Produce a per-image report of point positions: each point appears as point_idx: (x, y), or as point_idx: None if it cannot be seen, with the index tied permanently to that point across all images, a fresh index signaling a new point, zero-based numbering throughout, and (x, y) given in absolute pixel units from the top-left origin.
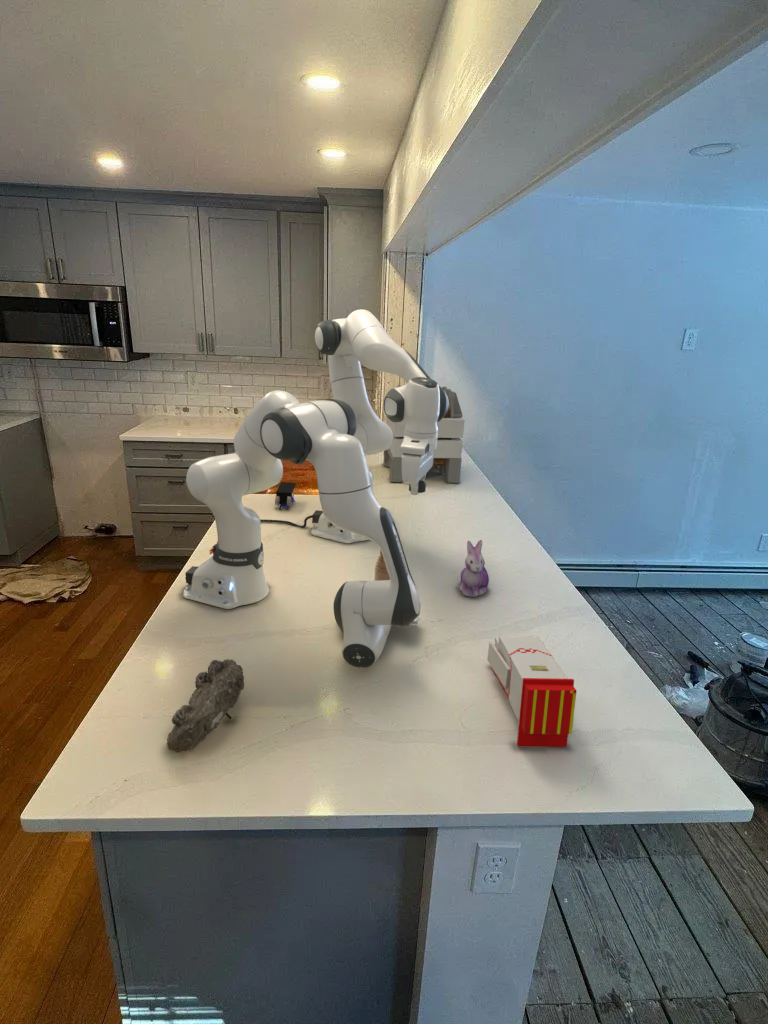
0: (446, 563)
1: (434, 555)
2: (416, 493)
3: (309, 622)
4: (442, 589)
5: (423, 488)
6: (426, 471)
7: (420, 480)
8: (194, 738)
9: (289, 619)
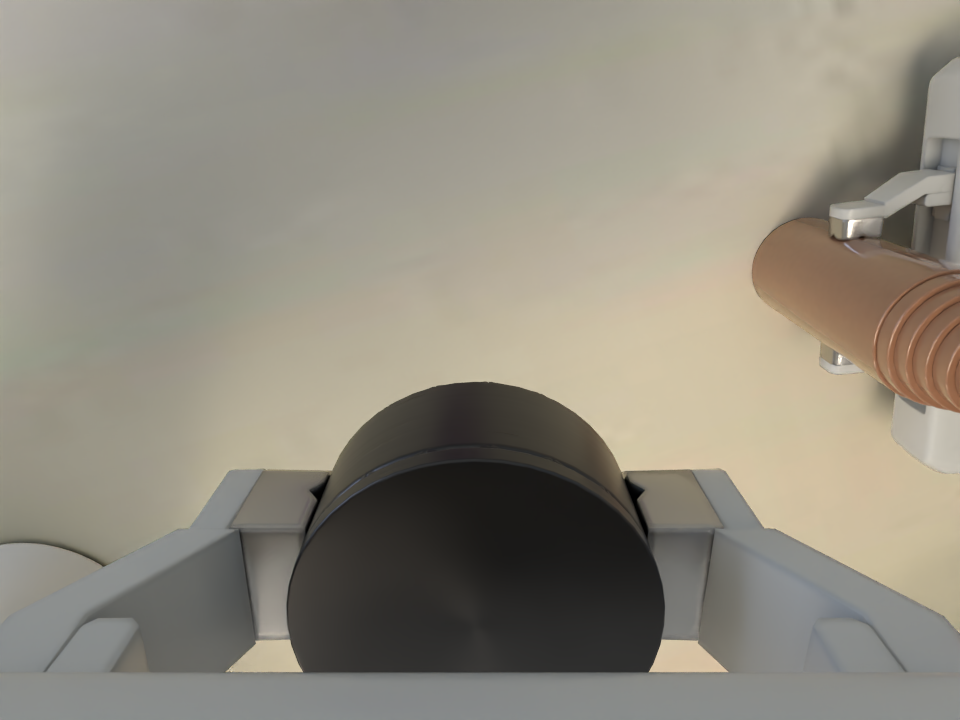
0: (121, 86)
1: (54, 184)
2: (729, 486)
3: (939, 504)
4: (469, 32)
5: (568, 436)
6: (237, 718)
7: (292, 611)
8: None
9: (928, 571)
